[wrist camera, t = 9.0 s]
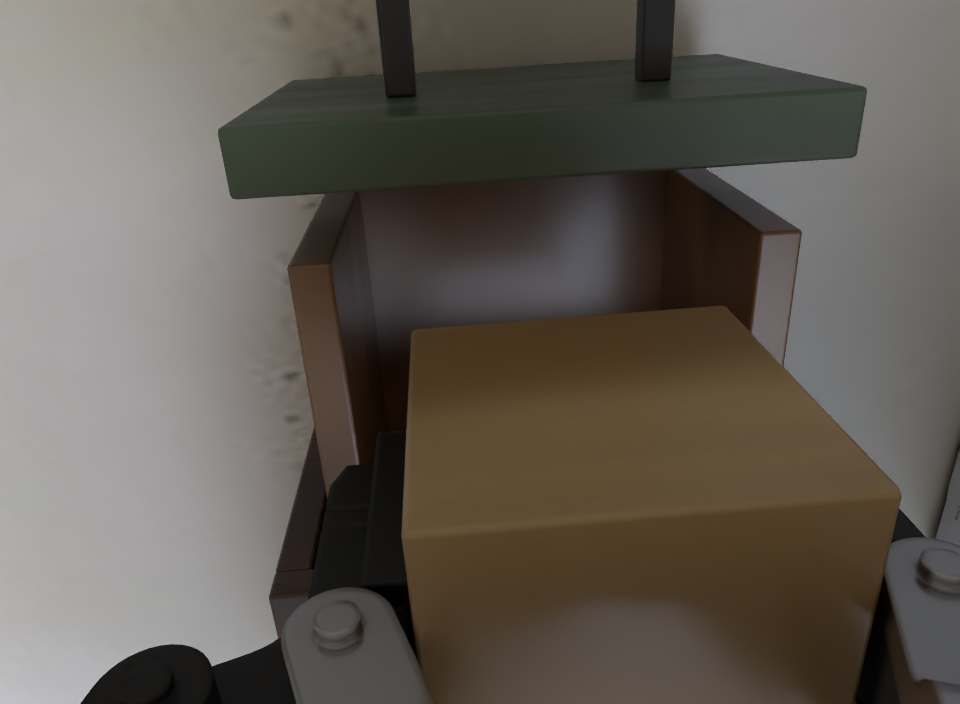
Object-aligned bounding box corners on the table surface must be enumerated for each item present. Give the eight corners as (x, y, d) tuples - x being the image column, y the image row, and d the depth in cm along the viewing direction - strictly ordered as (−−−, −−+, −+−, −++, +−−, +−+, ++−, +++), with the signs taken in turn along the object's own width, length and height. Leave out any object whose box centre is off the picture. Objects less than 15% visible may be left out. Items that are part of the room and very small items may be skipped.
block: (410, 327, 12) (400, 535, 7) (726, 303, 12) (907, 491, 7) (436, 574, 14) (441, 852, 9) (703, 550, 14) (832, 813, 10)
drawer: (256, -134, 17) (146, -214, 10) (736, -160, 17) (925, -253, 11) (355, 501, 24) (327, 687, 18) (685, 475, 25) (777, 648, 18)
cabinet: (323, 387, 24) (267, 597, 15) (703, 358, 24) (844, 549, 16) (374, 699, 30) (353, 967, 22) (676, 672, 30) (768, 927, 22)
